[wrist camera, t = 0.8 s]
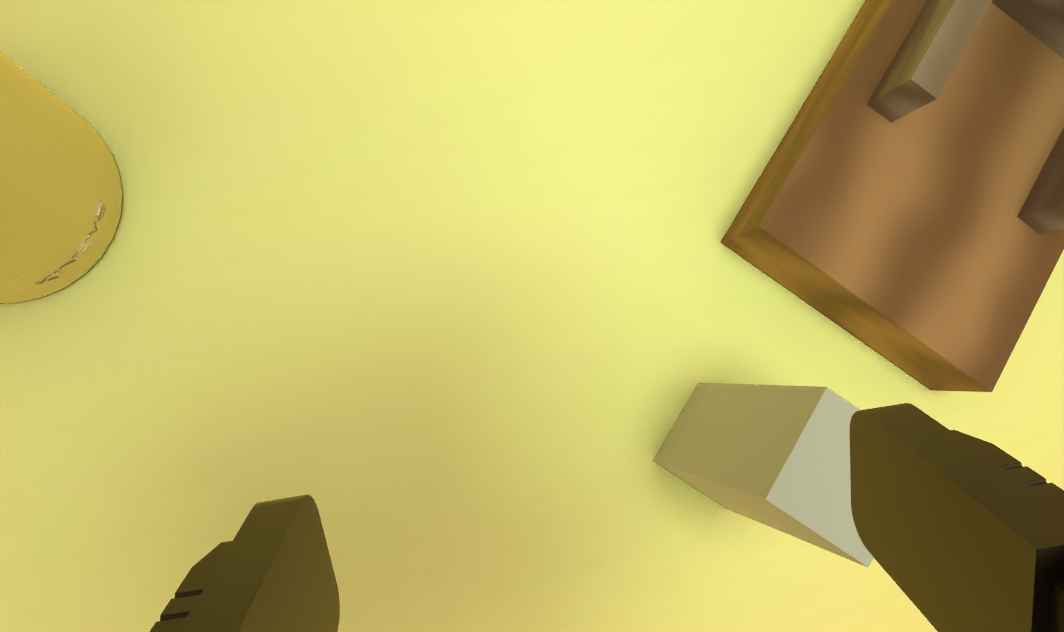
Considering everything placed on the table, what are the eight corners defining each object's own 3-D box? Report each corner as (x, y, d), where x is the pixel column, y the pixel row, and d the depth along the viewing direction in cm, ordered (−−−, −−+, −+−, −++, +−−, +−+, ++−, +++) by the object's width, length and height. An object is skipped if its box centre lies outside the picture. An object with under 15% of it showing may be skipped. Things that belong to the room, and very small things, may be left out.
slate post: (653, 460, 35) (765, 499, 24) (698, 382, 36) (826, 386, 25) (726, 508, 36) (868, 567, 25) (769, 431, 36) (925, 455, 26)
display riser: (720, 242, 37) (794, 211, 30) (912, -76, 40) (1016, -169, 33) (931, 390, 38) (1047, 393, 31) (1097, 70, 42) (1233, 10, 35)
